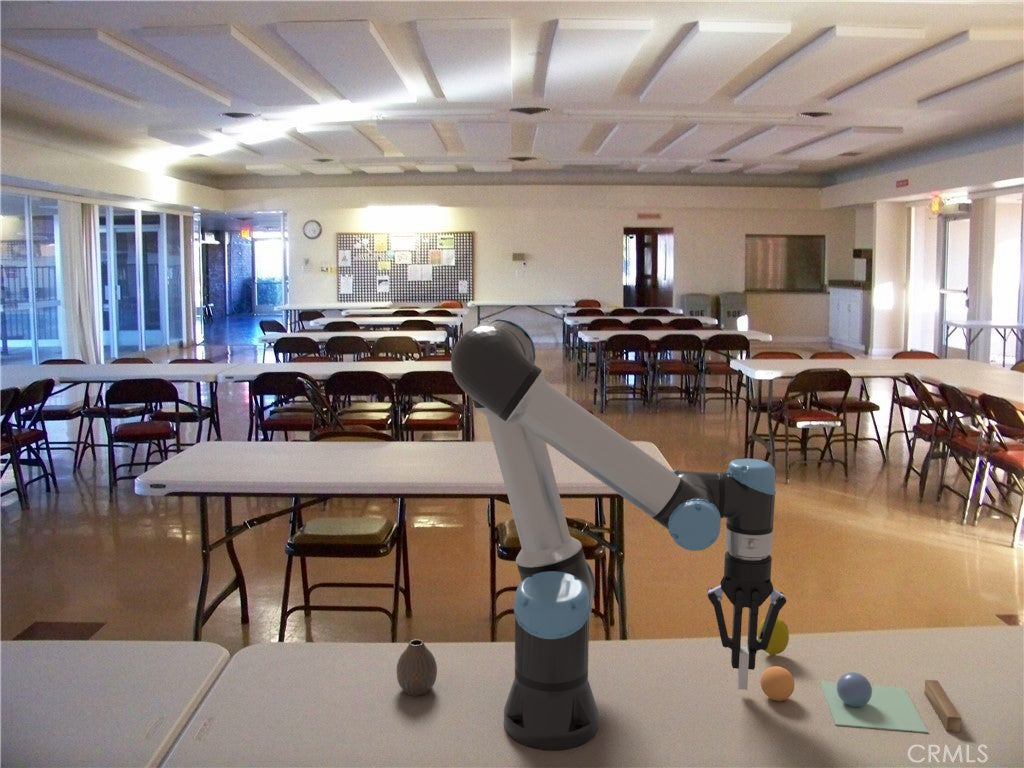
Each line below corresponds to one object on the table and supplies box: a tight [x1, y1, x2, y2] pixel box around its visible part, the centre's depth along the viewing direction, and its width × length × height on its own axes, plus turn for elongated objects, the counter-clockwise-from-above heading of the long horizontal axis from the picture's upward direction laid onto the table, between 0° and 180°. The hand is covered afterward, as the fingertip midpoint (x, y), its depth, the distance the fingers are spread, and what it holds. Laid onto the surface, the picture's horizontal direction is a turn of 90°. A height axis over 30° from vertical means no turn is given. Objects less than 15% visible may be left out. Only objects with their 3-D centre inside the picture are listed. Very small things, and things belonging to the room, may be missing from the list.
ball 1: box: [760, 665, 795, 702], centre depth 150 cm, size 6×6×6 cm
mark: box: [819, 680, 929, 734], centre depth 148 cm, size 14×14×1 cm
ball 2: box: [836, 671, 872, 707], centre depth 148 cm, size 6×6×6 cm
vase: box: [396, 639, 438, 697], centre depth 152 cm, size 7×7×9 cm
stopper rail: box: [923, 679, 962, 733], centre depth 146 cm, size 2×12×2 cm, turn 171°
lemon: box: [757, 616, 790, 657], centre depth 165 cm, size 6×6×8 cm
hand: (742, 685), depth 151 cm, fingers closed
